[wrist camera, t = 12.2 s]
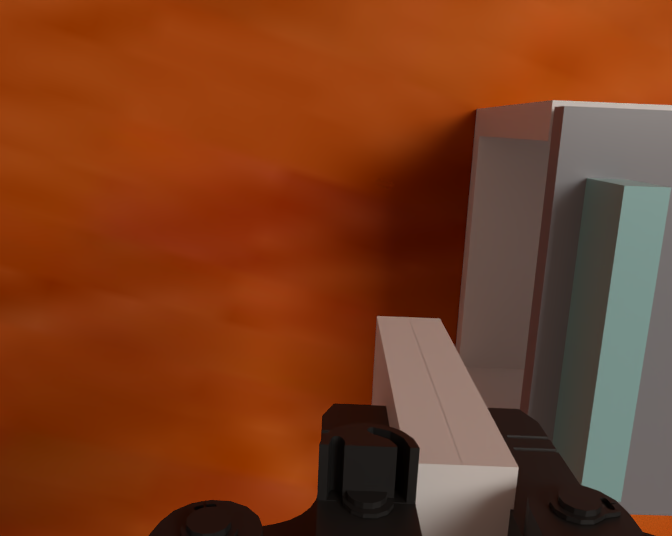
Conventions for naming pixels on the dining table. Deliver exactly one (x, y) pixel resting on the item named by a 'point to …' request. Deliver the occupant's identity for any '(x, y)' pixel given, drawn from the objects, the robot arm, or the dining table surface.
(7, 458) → the dining table surface
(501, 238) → the housing
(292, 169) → the dining table surface
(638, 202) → the lid
